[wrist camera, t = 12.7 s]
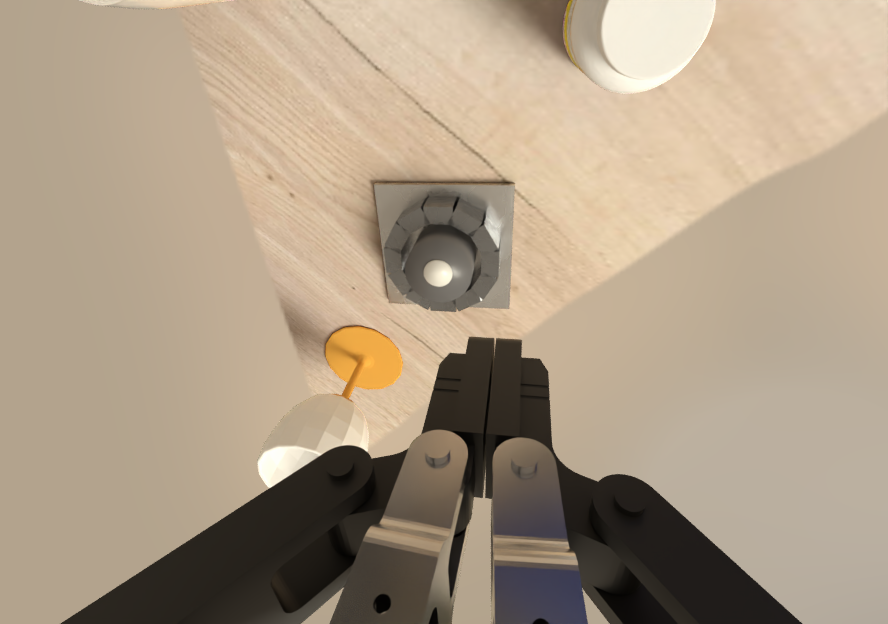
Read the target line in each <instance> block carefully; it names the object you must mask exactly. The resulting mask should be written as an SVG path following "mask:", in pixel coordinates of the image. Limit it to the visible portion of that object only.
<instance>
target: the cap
mask: <svg viewBox="0 0 888 624" xmlns="http://www.w3.org/2000/svg"><path fill="white" fill-rule="evenodd" d="M476 253H477V252H476V245H475V243H474V242H473V240H472V238H471V237H470V236H469V235H467V234H466V233H464V232H462V231H460V230H459V229H457V228H455V227H453V226H451V225H437V224H431V225H429V226H427V227H426V228H425V229H424V230H423V231H422V232H421V233H420V235H419V236H418V238H417V240H416V242H415V244H414V246H413V248H412V250H411V252H410V254H409V256H408V258H407V260H406V264H405V275H406V279H407V281H408V283H409V285H410V287H411V288H412V289H413V290H414V291H415V292H416V293H417V294H418V295H420V296H421V297H423V298H425V299H427V300H430V301H434V302H448V301H452V300H455V299H457V298H459V297H460V296H461V295H463V294H464V293H465V292H466V290H467V289H468V287H469V285H470V283H471V279H472V274H473V269H474V264H475V259H476Z"/></svg>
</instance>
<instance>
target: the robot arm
mask: <svg viewBox="0 0 888 624" xmlns="http://www.w3.org/2000/svg"><path fill="white" fill-rule="evenodd" d="M521 345H522V340H517V339H500V338H496V346H495V355H494V338H482V337H469V339H468V345H467V350H466V354H458V353H450V354H449V355H448V356H447V357H446V358H445V359H444V360H443V361H442V362H441V363H440V365H439V369H438V373H437V377H436V381H435V385H434V390H433V392H432V396H431V400H430V404H429V407H428V411H427V415H426V419H425V423H424V427H423V430H422V434H421V435H420V436H418V437H417V438H416V439H415V440H414V441H413V442H412V443H411V445H410V447H409V448H408V449H407V450H405V451H403V452H401V453H398V454H394V455H390V456H384V457H379V458H373V459H371V457H370V455H369V454H368V452H367V451H365V450H364V449H362V448H360V447H357V446H353V445H344V446H338V447H335V448H332V449H330V450H328V451H327V452H325V453H323V454H322V455H320V456H319V457H317V458H316V459H314V460H313V461H311V462H309V463H308V464H306V465H305V466H303V467H302V468H300V469H299V470H297V471H296V472H294V473H292V474H291V475H289V476H288V477H286V478H285V479H283V480H282V481H280V482H279V483H277V484H275V485H274V486H272V487H271V488H269V489H268V490H266V491H265V492H263V493H262V494H260V495H258V496H257V497H255V498H254V499H252V500H251V501H249V502H248V503H246V504H245V505H243V506H241V507H240V508H238V509H237V510H235V511H234V512H232V513H231V514H229V515H228V516H226V517H225V518H223V519H221V520H220V521H218V522H217V523H215V524H214V525H212V526H211V527H209V528H208V529H206V530H205V531H203V532H201V533H200V534H198V535H197V536H195V537H194V538H192V539H190V540H189V541H187V542H186V543H184V544H183V545H181V546H180V547H178V548H177V549H175V550H173V551H172V552H170V553H169V554H167V555H166V556H164V557H163V558H161V559H160V560H158V561H157V562H155V563H154V564H152V565H150V566H149V567H147V568H146V569H144V570H143V571H141V572H139V573H138V574H136V575H135V576H133V577H132V578H130V579H129V580H127V581H126V582H124V583H122V584H121V585H119V586H118V587H116V588H115V589H113V590H112V591H110V592H109V593H107V594H106V595H104V596H102V597H101V598H99V599H98V600H96V601H95V602H93V603H92V604H90V605H89V606H87V607H86V608H84V609H82V610H81V611H79V612H78V613H76V614H75V615H73V616H72V617H70V618H68V619H67V620H65V621H64V622H62V623H61V624H301V623H302V622H303V621H305V620H306V619H307V618H308V617H309V616H310V615H311V614H313V613H314V612H315V611H316V610H317V609H319V608H320V607H321V606H322V605H323V604H324V603H325V602H326V601H328V600H329V599H330V598H331V597H332V596H334V595H335V594H336V593H337V592H338V591H339V590H341V589H342V588H343V587H344V589H343V592H342V594H341V596H340V599H339V602H338V604H337V607H336V609H335V611H334V614H333V616H332V619H331V621H330V624H452V615H453V607H454V601H455V596H456V591H457V586H458V581H459V576H460V571H461V566H462V561H463V556H464V551H465V546H466V541H467V536H468V531H469V522H470V519H471V515H472V508H473V498H474V497H480V498H483V490H484V480H485V470H486V494H485V495H486V496H485V498H489V499H492V507H491V624H588V621H587V615H586V609H585V603H584V597H583V591H582V588H583V589H584V591H585V592H586V594H587V595H588V596H589V597H590V599H591V600H592V601H593V603H594V604H595V605H596V606H597V608H598V609H599V610H600V612H601V613H602V614H603V615H604V617H605V618H606V619H607V621H608V622H609V623H610V624H802V623H801V622H799V620H798V619H796V618H795V617H794V616H793V615H792V614H791V613H790V612H789V611H788V610H786V609H785V608H784V607H783V606H782V605H781V604H780V603H779V602H778V601H777V600H775V599H774V598H773V597H772V596H771V595H770V594H769V593H768V592H767V591H766V590H764V589H763V588H762V587H761V586H760V585H759V584H758V583H757V582H756V581H754V580H753V579H752V578H751V577H750V576H749V575H748V574H747V573H746V572H745V571H743V570H742V569H741V568H740V567H739V566H738V565H737V564H736V563H735V562H734V561H732V560H731V559H730V558H729V557H728V556H727V555H726V554H725V553H724V552H723V551H721V550H720V549H719V548H718V547H717V546H716V545H715V544H714V543H713V542H712V541H710V540H709V539H708V538H707V537H706V536H705V535H704V534H703V533H702V532H700V531H699V530H698V529H697V528H696V527H695V526H694V525H693V524H691V522H689V521H688V520H687V519H686V518H685V517H684V516H683V515H682V514H680V513H679V512H678V511H677V510H676V509H675V508H674V507H673V506H672V505H671V504H670V503H668V502H667V501H666V500H665V499H664V498H663V497H662V496H661V495H660V494H659V493H657V492H656V491H655V490H654V489H653V488H652V487H650V486H649V485H648V484H647V483H645V482H643V481H642V480H640V479H637V478H635V477H632V476H628V475H622V474H615V475H609V476H606V477H604V478H602V479H601V480H600V481H599V482H597V481H595V480H592V479H590V478H587V477H584V476H582V475H579V474H577V473H575V472H573V471H572V470H570V469H568V468H567V467H566V466H565V465H564V464H563V463H562V462H561V461H560V460H559V459H558V458H557V456H556V454H555V453H554V450H553V447H552V437H551V419H550V418H551V417H550V400H549V379H548V371H547V369H546V368H545V366H544V365H543V363H542V361H541V360H540V359H534V358H521V348H522V347H521Z"/></svg>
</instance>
